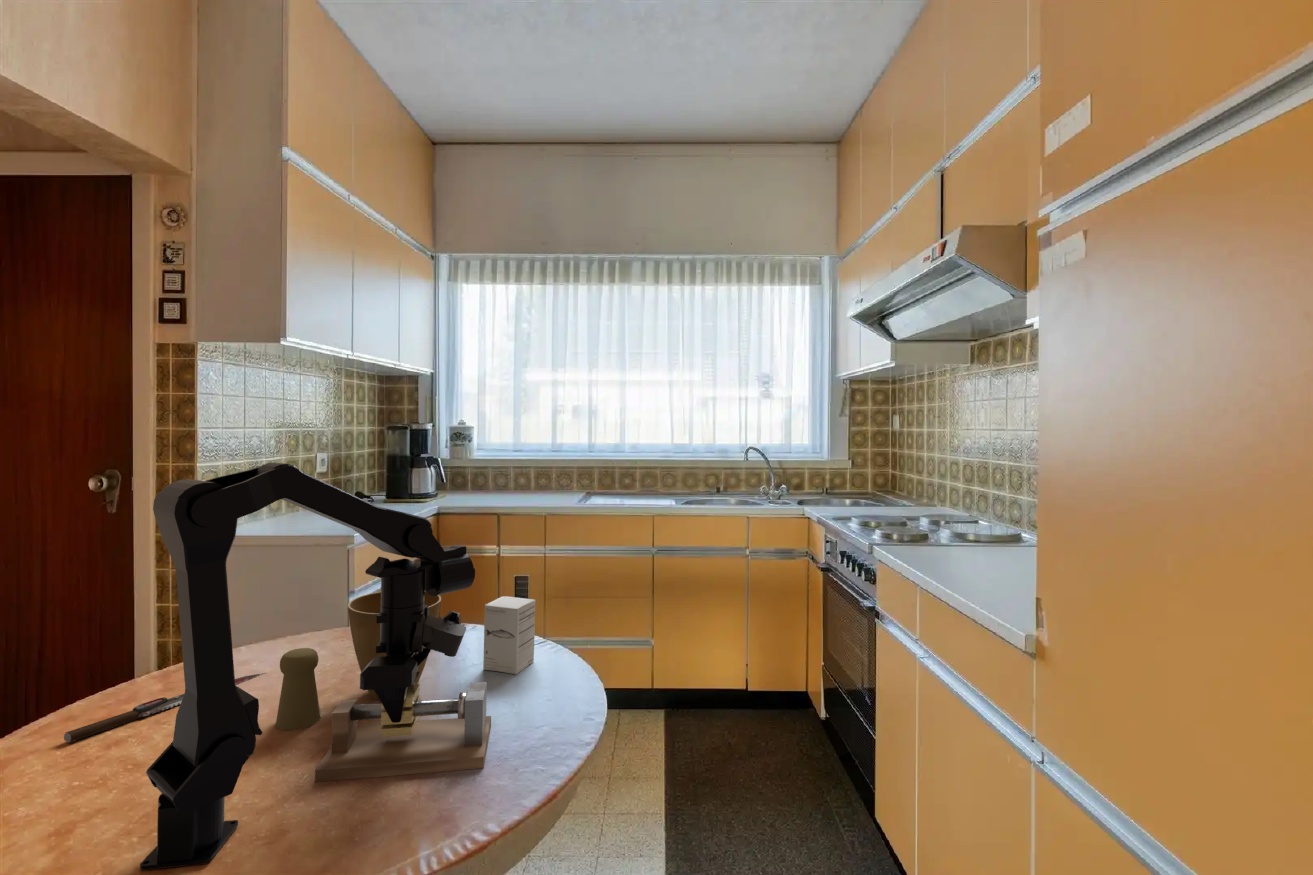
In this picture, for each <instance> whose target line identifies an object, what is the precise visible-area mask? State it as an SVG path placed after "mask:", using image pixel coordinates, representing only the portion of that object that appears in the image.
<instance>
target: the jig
mask: <svg viewBox="0 0 1313 875" xmlns="http://www.w3.org/2000/svg"><path fill="white" fill-rule="evenodd" d="M353 705H358V699H343V700H342V699H341V701H340V702H339V703H338V705H337V706H336V708H335V709H334V710H333V712H332V713H331V746H330V747H329V749H328V750H327V752H326V754H325V755H324V757H323V758H322V760H321V761H320V762H319V764H318V765H317V767H316V769H315V770H314V782H315V783H318V782H320V783H321V782H329V781H330V782H331V781H342V780H353V779H354V780H356V779H367V778H368V779H369V778H380V777H389V776H390V777H391V776H401V775H402V776H404V775H414V774H415V775H416V774H429V773H438V772H439V773H440V772H450V771H452V772H453V771H461V770H462V771H463V770H475V769H484V768H485V762H486V756H487V750H488V746H489V745H488V744H489V739H490V732H491V728H492V716H491V715H486V728H485V734H484V739H483V744H482V746H473V747H464V736H465V719H461V720H458V717H455V718H454V717H453V718H441V719H425V720H418V722H417V724H416V726H415V729H414V731H413V733H412V735H404V736H391V737H381V728H382V726H383V725H381V722H379V723H367V724H365V723H364V724H358V723H357V721H358V720H354V721H351V719H350V714H351V708H352V706H353Z"/></svg>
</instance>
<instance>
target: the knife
mask: <svg viewBox="0 0 1313 875" xmlns="http://www.w3.org/2000/svg"><path fill="white" fill-rule="evenodd" d="M265 674H267V672H264V673H263V672H262V673H256V674H251V675H244V676H240V677H237V678H235V685H236V686H238V685H240V684H243V683H244V682H248V681H250V680H253V679H256V678H258V677H260V676H263V675H265ZM257 676H258V677H257ZM184 694H185V693H183V694H179V695H176V696H173V697H170V698H167V697H165V696H164V697H159V698H156V699H153V700H150V701H147V702H143V703H140V704H139V705H136V706H134V707H133V708H132V710H129V711H125V712H124V713H120V714H117V715H115V716H111V717H108V718H105V719H102V720H100V721H96V722H93V723H90V724H87V725H83V726H81V727H78V728H75V729H72V730H69V731H66V732H65V733H64V734H63V740H64V741H66V742H67V743H69V744H70V743H72V742H76V741H79V740H82V739H85V738H88V737H91V736H92V735H96V734H100V733H103V732H106V731H107V730H111V729H113V728H116V727H119V726H122V725H124V724H128V723H131V722H134V721H137V720H138V719H139V720H140V719H142V718H144V717H147V716H148V717H149V716H150V715H153V714H155V713H156V714H157V713H159V712H163V711H165V710H167V709H171V708H174V707H176V706H180V704H181V702H182V699H183V697H184Z"/></svg>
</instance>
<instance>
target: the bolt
mask: <svg viewBox="0 0 1313 875" xmlns="http://www.w3.org/2000/svg"><path fill="white" fill-rule="evenodd" d="M487 685H488V684H487V681H482V682H470V683H469V686H468V689H467V691H461V692H459V694H458V698H447V699H445V698H444V699H428V700H419V701H415V702H414V704H413V706H412V707H414V717H415V716H419V717H428V716H441V715H456V714H457V718H458V720H461V719H465V736H464V747H473V746H482V744H483V739H484V734H485V728H486V716H487V696H488V694H487V690H488V689H487V687H488V686H487ZM404 708H409V707H404ZM382 711H383V709H381V702H380V703H379V702H378V703H365V704H364V703H363V704H357V705H353V706H352V708H351V714H350V719H351V721H354V720H357V721H365V720H368V721H369V720H379V719H380V720H381V712H382Z"/></svg>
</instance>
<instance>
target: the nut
mask: <svg viewBox="0 0 1313 875" xmlns="http://www.w3.org/2000/svg"><path fill="white" fill-rule="evenodd" d="M420 687H421V685H420V683H418V684H412V686H409V687H408V688H407V693H406V698H405V703H404V707H409V708H403V713H402V718H401V721H400V722H398V723H393V722H392V721H391V720H390V718H389V716H388V714H387V712H386V710H385V708H384V706H383V705H382V703H381V702H380V703H381V709H383V711H382V712H381V719H380V723H381V725H383V726H382V728H381V737H391V736H404V735H412V733H413V731H414V729H415V726H416V724H417V722H418V721H419V719H420V716H415V717H414V707H412V706H413V704H414V702H415V701H420V695H419V694H420V689H421V688H420Z"/></svg>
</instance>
